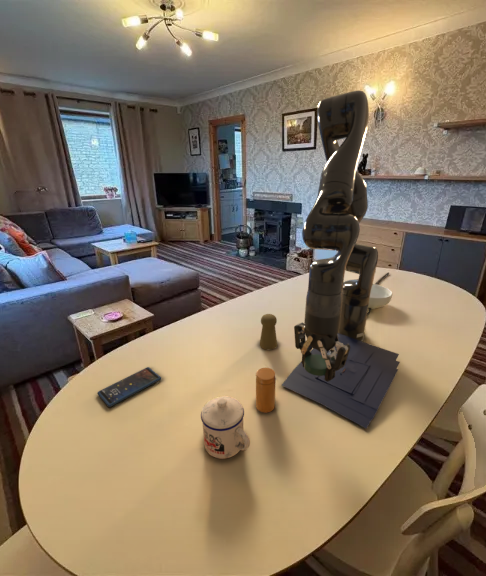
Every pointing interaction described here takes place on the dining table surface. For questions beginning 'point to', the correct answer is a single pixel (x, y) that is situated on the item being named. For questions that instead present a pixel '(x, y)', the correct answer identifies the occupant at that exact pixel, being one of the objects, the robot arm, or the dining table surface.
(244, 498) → the dining table surface
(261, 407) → the jar
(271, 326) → the brown rounded tall piece
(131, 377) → the smartphone
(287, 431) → the dining table surface
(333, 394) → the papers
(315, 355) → the lid
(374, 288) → the cereal bowl
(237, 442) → the teacup with lid
